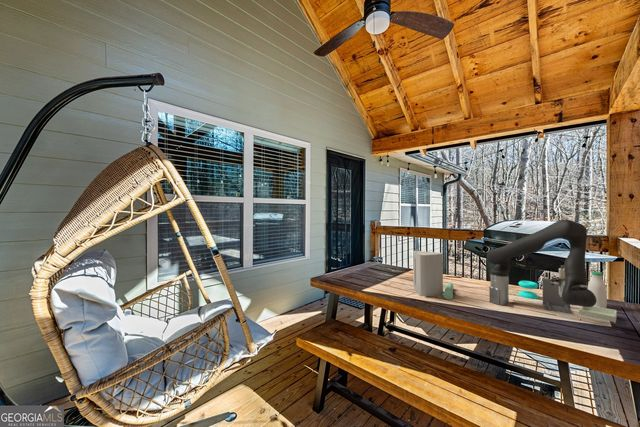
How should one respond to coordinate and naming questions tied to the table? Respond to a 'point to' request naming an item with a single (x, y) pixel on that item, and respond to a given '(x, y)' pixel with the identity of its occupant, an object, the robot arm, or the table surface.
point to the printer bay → (554, 298)
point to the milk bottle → (598, 289)
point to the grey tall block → (561, 277)
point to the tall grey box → (428, 273)
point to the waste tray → (599, 313)
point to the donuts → (528, 286)
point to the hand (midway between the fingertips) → (565, 279)
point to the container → (448, 291)
